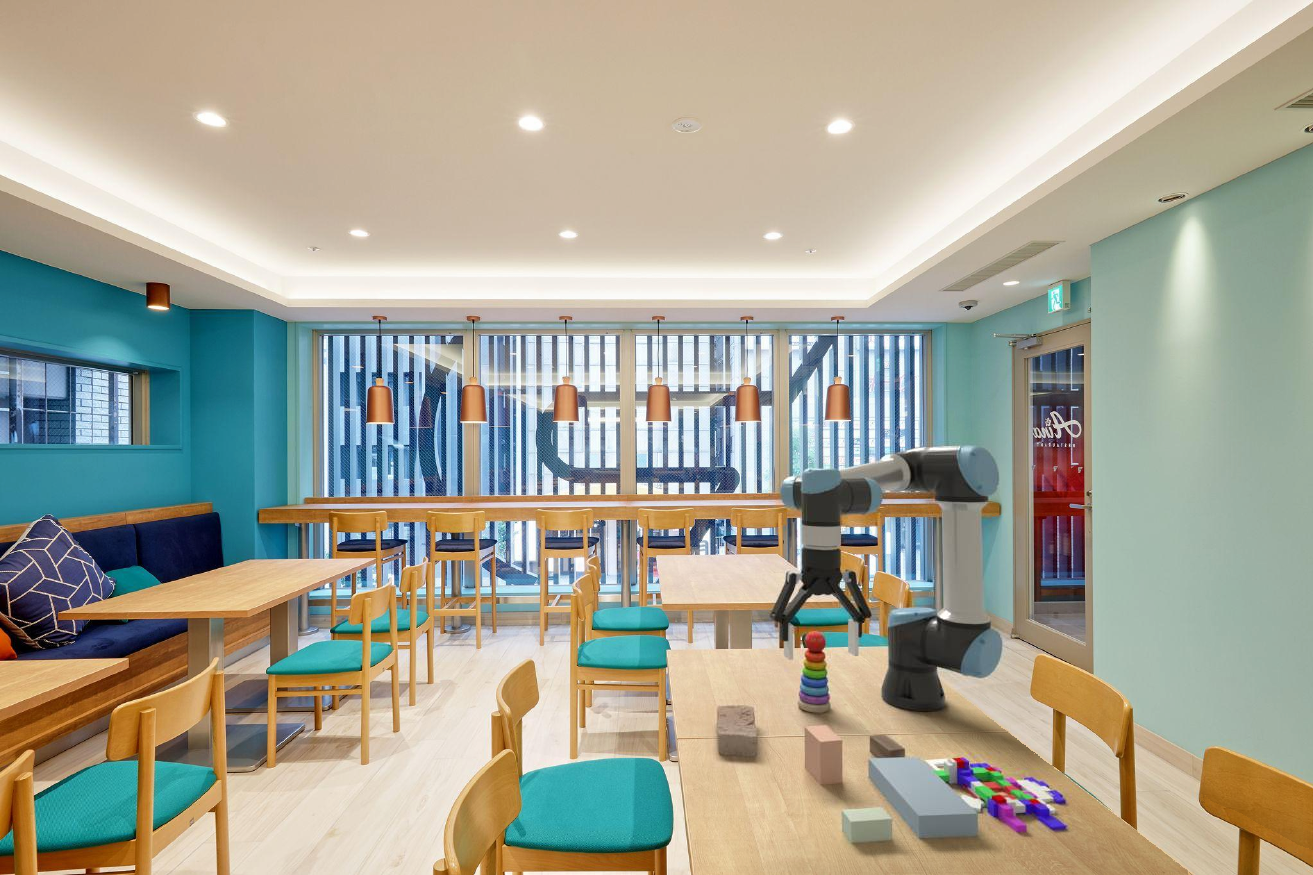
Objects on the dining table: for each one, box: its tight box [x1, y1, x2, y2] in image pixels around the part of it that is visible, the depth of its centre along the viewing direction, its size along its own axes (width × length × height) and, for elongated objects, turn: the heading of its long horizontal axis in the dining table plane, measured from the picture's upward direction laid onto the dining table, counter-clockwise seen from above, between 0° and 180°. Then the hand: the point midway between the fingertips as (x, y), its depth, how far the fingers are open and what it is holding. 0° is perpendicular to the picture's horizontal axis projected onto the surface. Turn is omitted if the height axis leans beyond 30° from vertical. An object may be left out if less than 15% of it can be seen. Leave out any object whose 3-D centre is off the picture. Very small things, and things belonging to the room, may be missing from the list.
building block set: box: [923, 756, 1067, 834], centre depth 119 cm, size 25×20×4 cm
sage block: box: [841, 806, 893, 844], centre depth 105 cm, size 4×7×4 cm, turn 98°
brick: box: [716, 704, 758, 757], centre depth 141 cm, size 17×8×5 cm, turn 175°
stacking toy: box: [797, 630, 832, 714], centre depth 159 cm, size 8×8×19 cm
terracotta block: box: [804, 724, 843, 786], centre depth 125 cm, size 4×7×8 cm, turn 11°
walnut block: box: [869, 733, 906, 758], centre depth 132 cm, size 4×7×4 cm, turn 15°
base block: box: [867, 756, 979, 839], centre depth 114 cm, size 10×20×4 cm, turn 5°
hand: (821, 656), depth 126 cm, fingers open, 13 cm apart
